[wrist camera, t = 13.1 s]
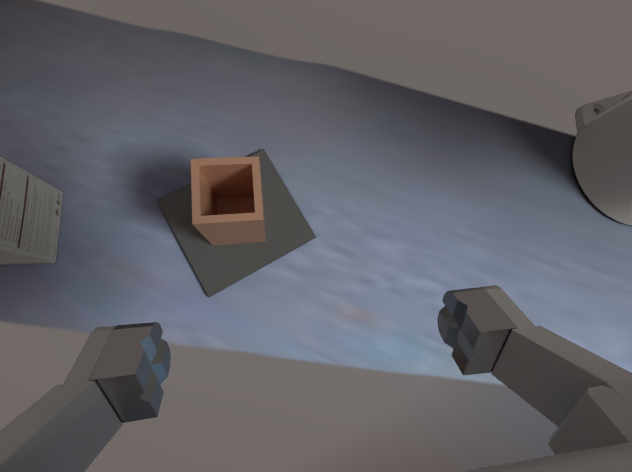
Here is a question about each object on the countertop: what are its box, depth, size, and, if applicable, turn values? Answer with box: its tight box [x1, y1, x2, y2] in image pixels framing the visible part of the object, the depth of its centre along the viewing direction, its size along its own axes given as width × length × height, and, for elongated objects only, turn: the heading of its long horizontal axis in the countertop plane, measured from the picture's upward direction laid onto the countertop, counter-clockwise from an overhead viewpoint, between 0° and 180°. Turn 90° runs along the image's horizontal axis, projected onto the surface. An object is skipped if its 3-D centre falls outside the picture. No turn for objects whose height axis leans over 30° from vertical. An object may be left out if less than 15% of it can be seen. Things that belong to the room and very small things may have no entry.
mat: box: [157, 149, 316, 297], centre depth 34 cm, size 12×11×1 cm
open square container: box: [191, 156, 266, 245], centre depth 30 cm, size 5×5×8 cm
